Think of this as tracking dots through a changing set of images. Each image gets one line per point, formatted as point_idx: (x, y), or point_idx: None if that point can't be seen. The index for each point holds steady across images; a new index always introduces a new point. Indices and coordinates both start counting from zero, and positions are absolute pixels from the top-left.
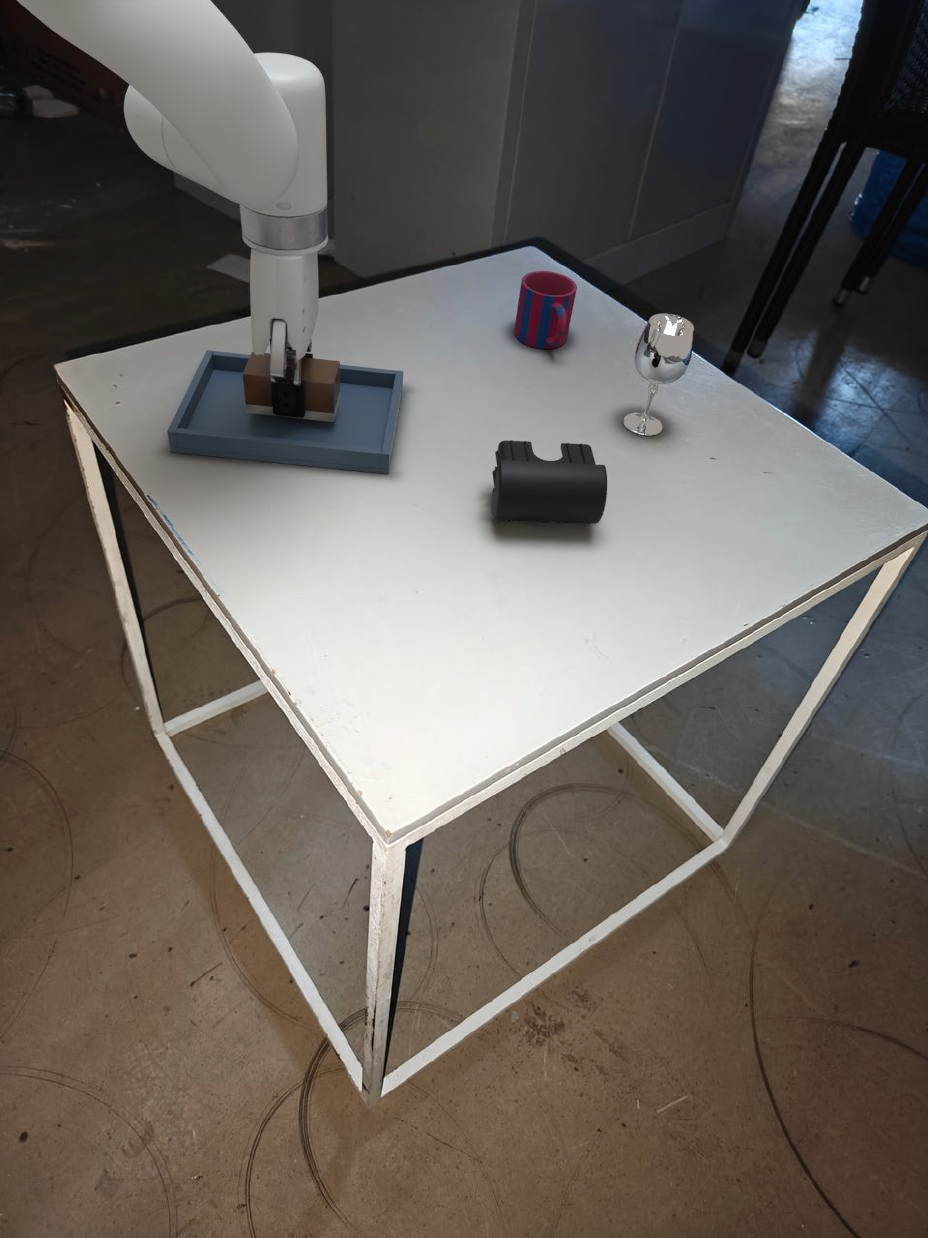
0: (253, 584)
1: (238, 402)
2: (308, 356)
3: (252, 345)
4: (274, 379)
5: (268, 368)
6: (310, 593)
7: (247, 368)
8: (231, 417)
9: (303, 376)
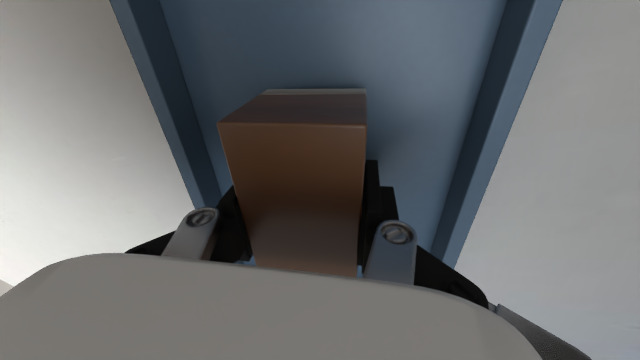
0: (6, 158)
1: (344, 42)
2: (362, 266)
3: (4, 294)
4: (152, 241)
5: (273, 189)
6: (44, 208)
7: (249, 132)
8: (279, 43)
9: (267, 259)
